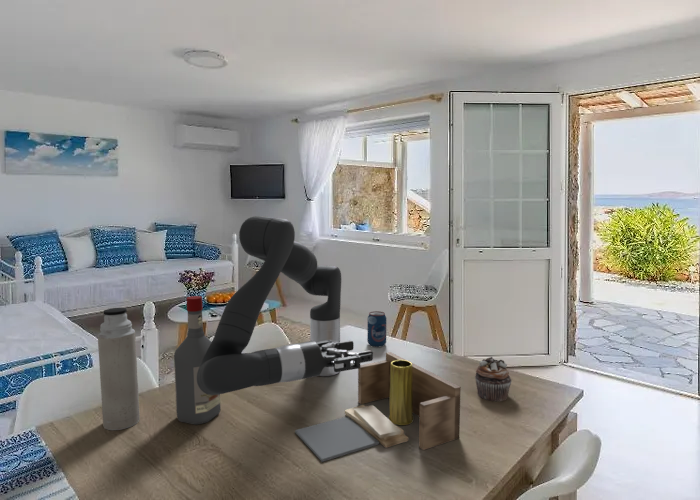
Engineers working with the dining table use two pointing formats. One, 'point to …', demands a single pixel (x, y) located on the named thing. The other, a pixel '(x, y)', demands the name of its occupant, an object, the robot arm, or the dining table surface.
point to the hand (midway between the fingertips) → (362, 349)
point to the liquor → (193, 371)
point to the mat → (336, 438)
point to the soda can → (376, 329)
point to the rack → (428, 404)
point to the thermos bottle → (118, 371)
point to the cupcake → (493, 380)
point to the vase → (401, 393)
